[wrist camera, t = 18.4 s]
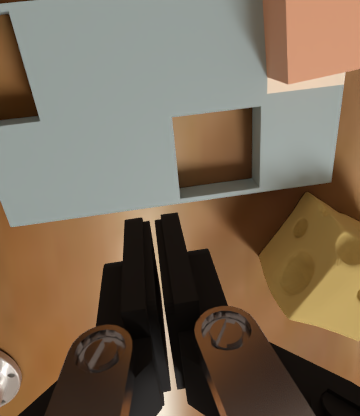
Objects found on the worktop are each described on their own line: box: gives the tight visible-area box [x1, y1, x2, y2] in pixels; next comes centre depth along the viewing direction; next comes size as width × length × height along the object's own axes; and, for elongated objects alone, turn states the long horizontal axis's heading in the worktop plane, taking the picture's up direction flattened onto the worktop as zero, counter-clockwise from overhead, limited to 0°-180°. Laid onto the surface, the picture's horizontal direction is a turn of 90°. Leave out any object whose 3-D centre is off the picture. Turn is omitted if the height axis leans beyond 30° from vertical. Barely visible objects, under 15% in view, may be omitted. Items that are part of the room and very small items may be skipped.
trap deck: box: [0, 0, 345, 227], centre depth 30 cm, size 32×18×2 cm, turn 95°
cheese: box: [259, 192, 360, 341], centre depth 37 cm, size 10×11×10 cm
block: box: [263, 0, 360, 85], centre depth 25 cm, size 7×7×4 cm
